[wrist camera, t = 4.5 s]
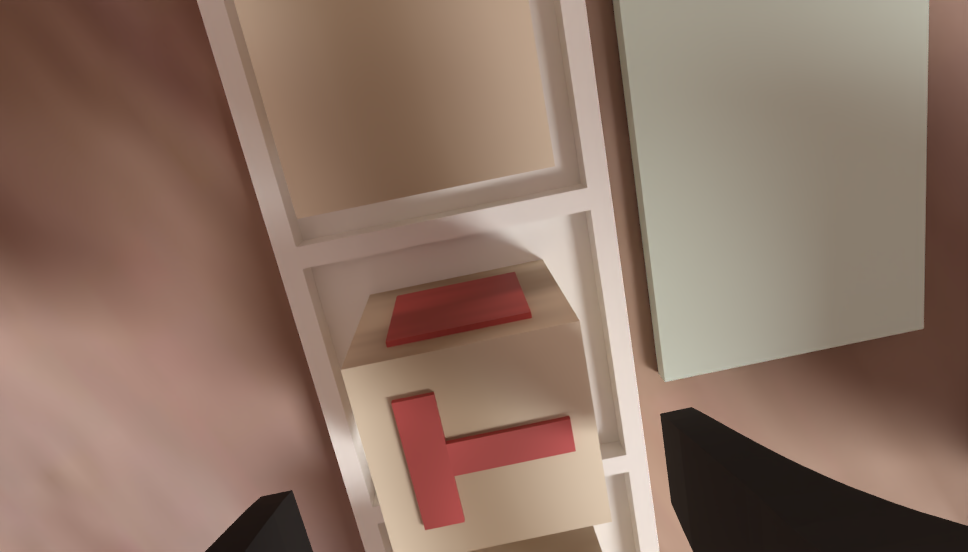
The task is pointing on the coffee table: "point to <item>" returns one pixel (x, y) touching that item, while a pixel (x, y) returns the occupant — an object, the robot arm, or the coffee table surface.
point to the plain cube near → (396, 95)
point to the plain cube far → (553, 543)
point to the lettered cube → (477, 411)
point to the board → (777, 173)
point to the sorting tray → (462, 257)
